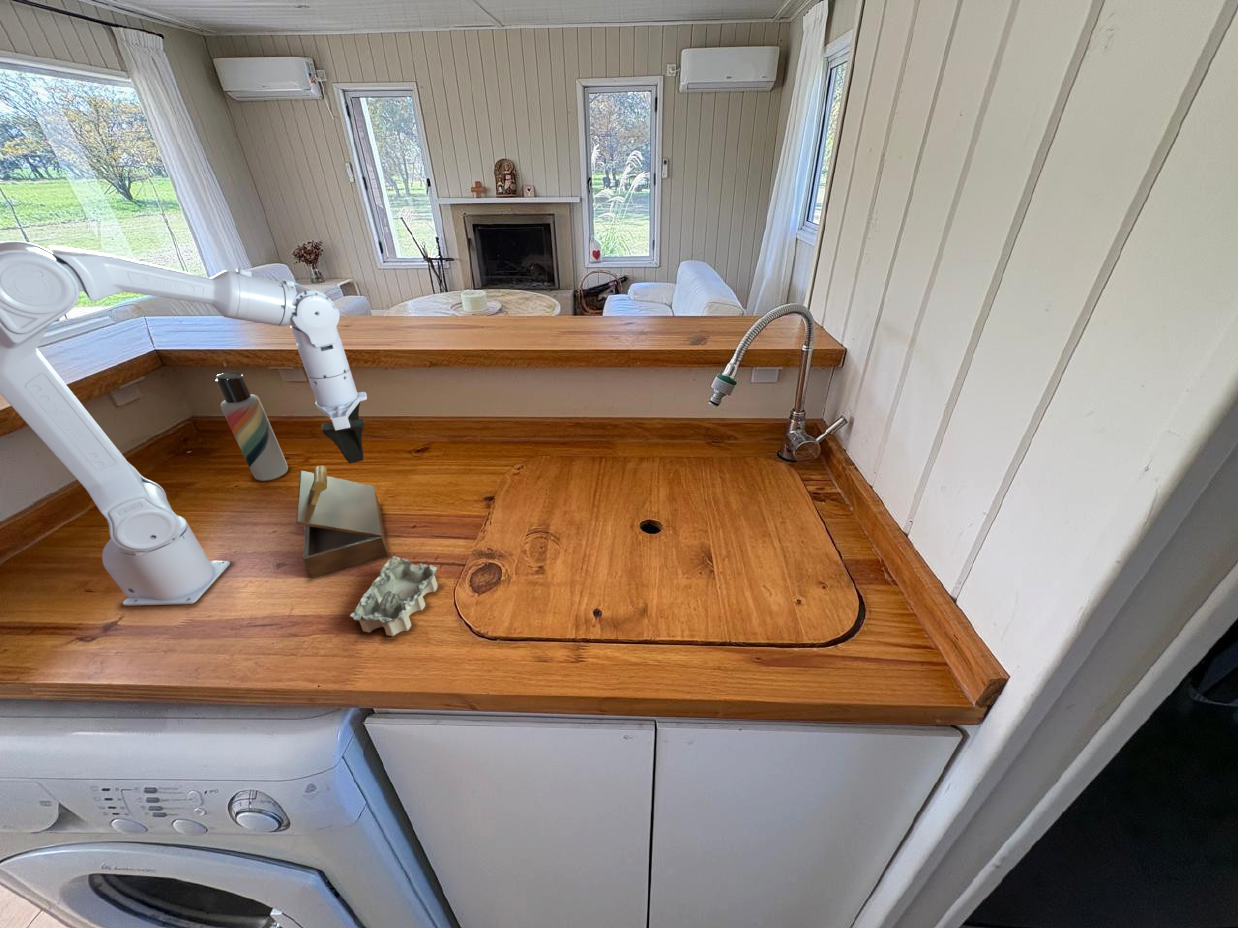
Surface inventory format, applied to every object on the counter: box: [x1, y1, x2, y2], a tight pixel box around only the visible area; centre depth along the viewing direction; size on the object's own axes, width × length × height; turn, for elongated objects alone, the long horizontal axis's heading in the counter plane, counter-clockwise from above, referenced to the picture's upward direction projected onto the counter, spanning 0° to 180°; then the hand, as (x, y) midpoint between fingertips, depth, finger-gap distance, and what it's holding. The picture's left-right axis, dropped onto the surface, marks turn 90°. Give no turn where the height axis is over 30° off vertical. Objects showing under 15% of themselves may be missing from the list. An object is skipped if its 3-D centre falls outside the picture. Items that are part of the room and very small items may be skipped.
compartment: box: [302, 492, 389, 579], centre depth 77 cm, size 10×14×4 cm
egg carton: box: [349, 554, 439, 637], centre depth 66 cm, size 11×8×4 cm
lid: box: [295, 465, 382, 537], centre depth 74 cm, size 11×14×4 cm
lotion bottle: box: [215, 371, 289, 482], centre depth 89 cm, size 6×6×20 cm
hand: (355, 450), depth 81 cm, fingers open, 7 cm apart
